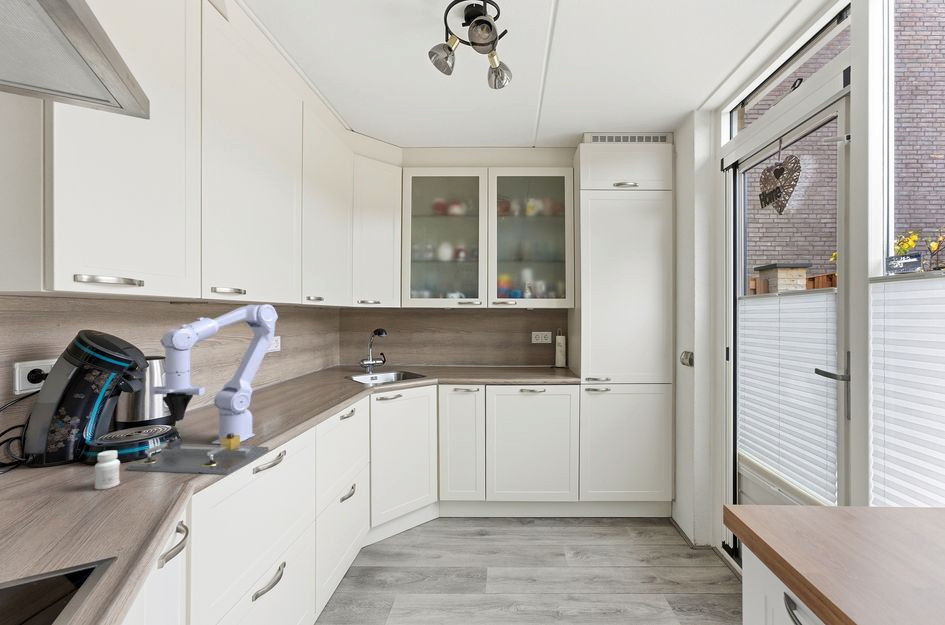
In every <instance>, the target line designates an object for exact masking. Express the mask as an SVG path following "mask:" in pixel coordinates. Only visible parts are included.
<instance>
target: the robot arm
mask: <svg viewBox="0 0 945 625" xmlns="http://www.w3.org/2000/svg"><path fill="white" fill-rule="evenodd" d="M278 318H279V316H278V314H277V312H276V309H275V307H274V306H273V305H272V304H268V303H267V304H247V305H246V306H240V307H238V308H236V309H234V310H231V311H229V312H227V313H225V314H222V315H220V316H218V317H215V318H213V319H211V318H210V317H198V318H196V321H193V322H190V323H188V324H181V325H180V327H179V328H172V329H168V330H167V331H165V333H164V334H163V335H162V337H161V339H160V344H161V346H162V347H163V348H164V351H165V354H164V355H165V356H164V357H165V361H164V364H165V365H164V366H165V367H164V368H165V370H164V371H165V372H164V374H165V375H164V377H165V380H164V382H165V386H164V385H163V386H162V385H161V386H153V387H152V386H151V395H153V396H154V395H165V396H163V397H162V401H163V402H164V403H165V404H166V406H167V408H168V410H169V412H170V414H171V419H172V421H173V422H179V421H183V420H184V417H185V413H186V410H187V408H188V406H189V404H190V402H191V400H192V399H193V396H202V395H205V391H206V390H205V389H206V388H205V387H203V386H202V387H201V386H194V385H191V348H193V347H194V345H195V344H197V343H200V342H202V341H204V340H206V339H209V338H211V337H214V336H216V334H217V333H218V331H219V330H220V329H223V328H226V327H227V326H231V325H234V324H237V323H239V322H245V323H246V324H247V325H248V327H249V328H250V329H251V330H252V332H253V334H254V336H253V338H252V340H251V342H250V343H249V345H248V348H247V349H246V351H245V353H244V355H243V357H242V359H241V361H240V363H239V365H238V367H237V369H236V371H235V373H234V375H233V376H232V379H230V380H229V381H227V382H226V383H225V384H224V385H223V387H222V389H221V390H219V391H218V392H217V393H216V394H215V396H214V398H213V403H214V406H215V407H216V408H217V409H218V439H216V440H214V441H212V442H211V445H221V439H222V438H224V437H226V436H227V434H230V433H234V435H240V443H242V442H244V441H246V440H248V439H250V438H252V437H254V436H255V435H256V434H255V433H253V415H252V412H251V411H250V410H249V409H248V408H249V406H250V404H251V396H252V393H253V391H254V390H253V389H252V388H253V387H251V386H252V384H251V383H252V381H253V380H254V378H255V376H256V373H257V371H258V369H259V368H260V366H261V363H262V361H263V359H264V357H265V355H266V353H267V351H268V349H269V348H270V345H271V343H272V341H273V339H274V337H275V329H276V322H277V319H278Z"/></svg>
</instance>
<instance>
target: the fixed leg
mask: <svg viewBox="0 0 945 625" xmlns="http://www.w3.org/2000/svg"><path fill="white" fill-rule="evenodd" d="M181 444H182V442H181V438H176V437H169V438H168V440H165V441H163V442H162V444H158V445H156V446H154V447H150V448H148V449H145V450H144V451H145V452H144V454H146V455H147V458H148V460H151V459H152V456H153V455H152V454H153V452H156V451H158V450H161V449H162V448H163V449H173V448H175V447H178V446H180V445H181Z"/></svg>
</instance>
